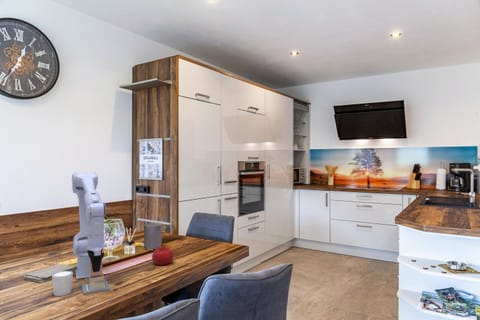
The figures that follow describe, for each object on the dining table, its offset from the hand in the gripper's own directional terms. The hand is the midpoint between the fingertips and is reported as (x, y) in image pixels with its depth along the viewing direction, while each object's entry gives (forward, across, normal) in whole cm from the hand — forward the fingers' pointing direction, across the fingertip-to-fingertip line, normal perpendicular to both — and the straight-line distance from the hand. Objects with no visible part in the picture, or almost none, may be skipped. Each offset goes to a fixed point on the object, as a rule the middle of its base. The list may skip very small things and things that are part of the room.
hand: (95, 270), depth 123 cm
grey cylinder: (+7, +1, +11) cm, 13 cm away
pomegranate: (+7, +18, -31) cm, 37 cm away
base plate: (+7, 0, 0) cm, 7 cm away
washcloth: (+8, +26, +15) cm, 31 cm away
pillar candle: (+7, +49, -34) cm, 60 cm away
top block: (+2, 0, 0) cm, 2 cm away
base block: (+6, 0, 0) cm, 6 cm away
